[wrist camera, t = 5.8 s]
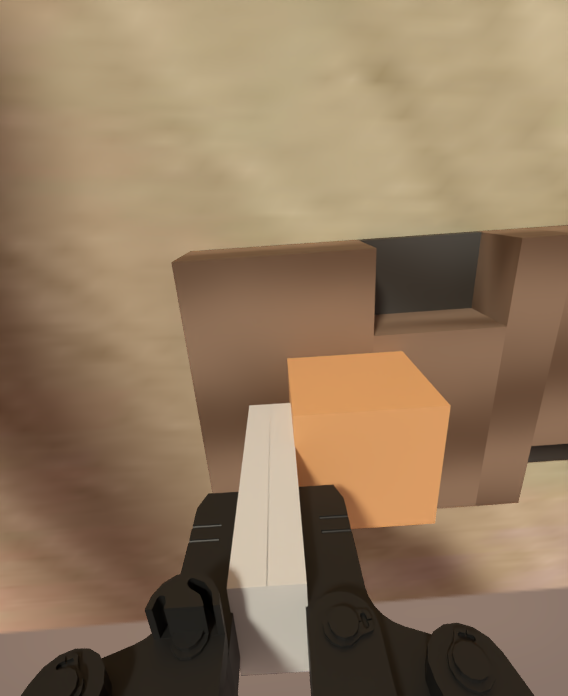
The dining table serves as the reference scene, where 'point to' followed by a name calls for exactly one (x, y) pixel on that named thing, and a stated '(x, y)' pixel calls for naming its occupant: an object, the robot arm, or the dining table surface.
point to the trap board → (392, 340)
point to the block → (370, 435)
